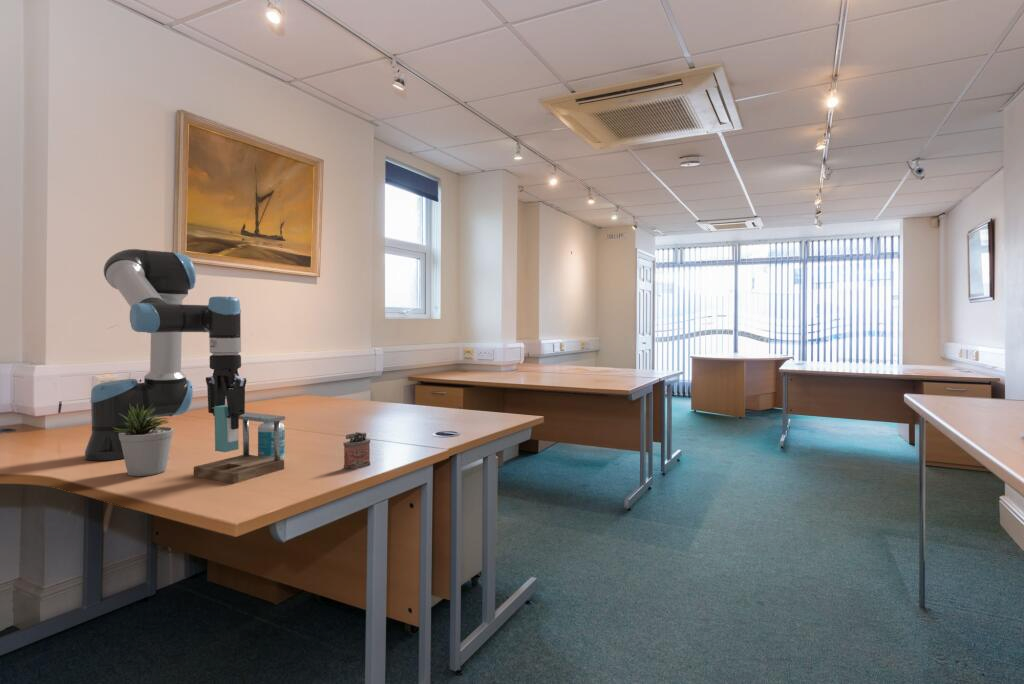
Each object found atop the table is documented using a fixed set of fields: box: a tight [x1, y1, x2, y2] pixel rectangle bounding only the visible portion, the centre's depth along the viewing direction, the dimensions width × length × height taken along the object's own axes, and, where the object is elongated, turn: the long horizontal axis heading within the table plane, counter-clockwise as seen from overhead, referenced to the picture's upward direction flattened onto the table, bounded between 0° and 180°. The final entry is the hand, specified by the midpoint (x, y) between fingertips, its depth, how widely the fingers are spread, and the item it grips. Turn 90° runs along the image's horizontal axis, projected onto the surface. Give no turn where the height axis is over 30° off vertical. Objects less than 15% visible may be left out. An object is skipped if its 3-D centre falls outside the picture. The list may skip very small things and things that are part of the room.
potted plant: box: [113, 404, 174, 477], centre depth 148 cm, size 13×14×20 cm
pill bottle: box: [257, 422, 286, 460], centre depth 162 cm, size 8×7×14 cm
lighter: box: [343, 431, 371, 471], centre depth 155 cm, size 8×3×10 cm, turn 134°
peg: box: [214, 404, 240, 453], centre depth 145 cm, size 4×4×12 cm
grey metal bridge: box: [239, 411, 286, 461], centre depth 154 cm, size 16×6×15 cm, turn 64°
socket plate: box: [193, 454, 285, 484], centre depth 149 cm, size 16×16×2 cm
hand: (226, 440), depth 145 cm, fingers closed on peg, 4 cm apart
